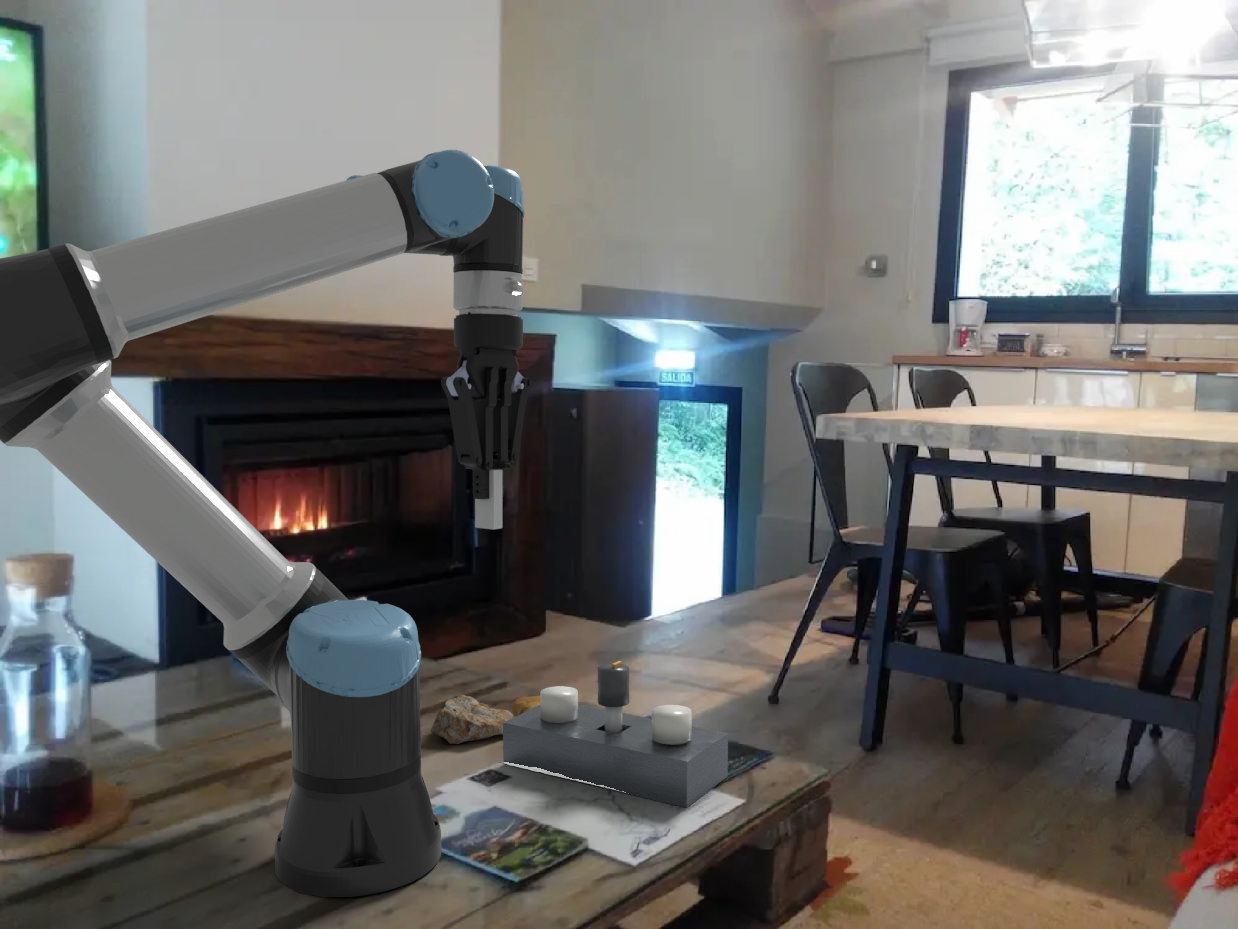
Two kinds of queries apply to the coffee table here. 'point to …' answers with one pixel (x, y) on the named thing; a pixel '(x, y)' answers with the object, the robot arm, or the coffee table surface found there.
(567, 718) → the plunger far
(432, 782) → the coffee table surface
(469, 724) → the rock
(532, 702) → the pastry
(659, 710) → the plunger near
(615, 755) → the panel
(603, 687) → the pot knob
